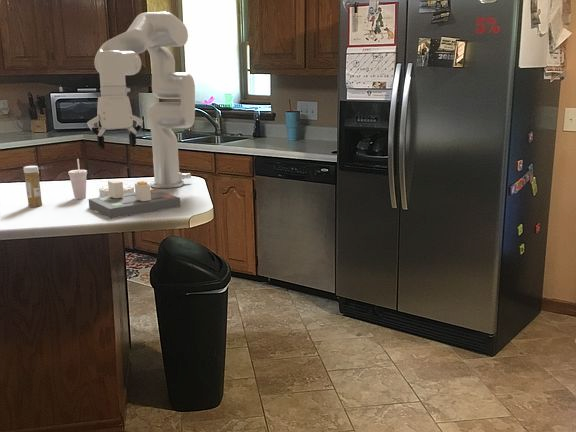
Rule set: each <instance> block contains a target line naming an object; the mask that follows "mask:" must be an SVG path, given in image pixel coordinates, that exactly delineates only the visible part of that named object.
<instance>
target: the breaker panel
mask: <svg viewBox="0 0 576 432" xmlns="http://www.w3.org/2000/svg"><path fill="white" fill-rule="evenodd" d="M150 192H151V200H148V201H140V200H138V199H136V194H135V191H134V192H133V193H126V194H124V197H121V198H113V197H111V196H106V197H100V196H99V197H94V198H88V207H89V209H91V210H93V211H94V212H96V213H99V214H101V215H102V216H105V217H107V218H108V219H114V218H121V217H122V218H123V217H126V216H132V215H138V214H144V213H151V212H156V211H162V210H167V209H169V210H170V209H174V208H180V207H181V197H179V196H176V195H173V194H170V193H168V192H164V191H162V190H159V189H157V188H155V189H154V188H153V189H150Z"/></svg>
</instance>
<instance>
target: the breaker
mask: <svg viewBox="0 0 576 432" xmlns="http://www.w3.org/2000/svg"><path fill="white" fill-rule="evenodd" d="M123 184H124V183H123V181H121V180H118V179H113V180H108V181H107V185H108V188H109V196H111V197H113V198H121V197H124V193H123Z"/></svg>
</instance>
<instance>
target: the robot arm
mask: <svg viewBox="0 0 576 432" xmlns="http://www.w3.org/2000/svg"><path fill="white" fill-rule="evenodd" d="M188 39H189V33H188V29H187V26H186V25H185V23H184V22H183V21H182V20H180V19H179V18H178V17H177V16H176V15H175V14H173V13H172V12H167V11H154V12H153V11H149V12H147V11H146V12H142V13H139V14H138V15H137V16H136V17H135V18H134V20H133V21H132V22H131V24H130V26H129V27H128V29H127V30H126V31H125V32H122V33H120V34H118V35H116V36H114V37H112V38H109V39H108V40H106V41H105V42H103V44H102V45H101V46H100V47H99V48H98V50H97V52H96V54H95V57H94V60H93V61H94V67H95V70H96V71H97V73H99V83H100V95H101V96H98V98H97V105H96V106H97V107H96V108H97V110H96V111H97V115H96V116H95V117H93V118H92V119H90V120H88V121H87V122H86V124H87V126H88V127H89V129H90V131H91V132H92V133H93V134H95V136H96V139H97V147H99V149H100V150H105V145H106V144H105V137H104V136H103V134H104V133H105V132H106V131H107V130H108V131H110V130H127V131H129V133H128V140H129V143H128V144H129V147H132V148H135V147H136V144H137V136H136V135H137V133H138V131H139V130H140V129H141V126H142V125H143V122H144V120H143V119H142V118H140V117H138V116H136V115H134V114H133V112H132V110H133V109H132V106H131V102H130V101H131V100H130V97H129V96H128V93H131V92H132V91H131V88H130V87H128V86H127V83H126V76H134V75H136V74H138V73H139V72H140V71H141V69H142V60H141V57H140V54H142V53H144V52H146V51H148V54H149V56H150V59H151V91H152V95H153V96H154V97H155V98H158V99H163V100H164V99H165V100H166V99H167V100H169V99H170V100H171V99H172V100H174V99H177V100H180V102H179V101H177V102H176V101H175V102H174V101H173V102H172V101H165V102H164V101H162V102H161V101H160V102H154V103H151V104H150V105H149V107H148V108H147V110H146V111H147V112H146V113H147V114H146V115H147V120H148V124H149V128H150V129H149V130H150V135H151V144H152V145H151V147H152V148H151V150H152V161H153V162H152V164H153V175H154V177H153V178H154V181H151V182H150V187H152V188H153V189H154V188H155V189H175V188H179V187H182V186H184V185H185V181H184V179H191V177H192V173H190V172H188V173H182V172H180V161H179V143H178V137H177V136H176V134H175V132H174V131H173V130H172V129H189V128H192V127H193V125H194V123H195V118H196V117H195V115H196V85H195V80H194V77H193V76H192V75H191V74H190V73H188V72H176V61H175V58H174V55H173V54H172V52H171V51H170V50H169V49H168V48H167V47H169V48H170V47H177V48H179V47H183V46H185V45H186V44H187V42H188ZM134 121H135V122H136V125H134ZM95 124H97V127H98V129H97V128H96V126H95Z"/></svg>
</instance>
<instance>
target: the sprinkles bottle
mask: <svg viewBox="0 0 576 432" xmlns="http://www.w3.org/2000/svg"><path fill="white" fill-rule="evenodd" d="M22 169H23V175H24V179H25V180H24V181H25V189H26V197H27V203H28V204H27V206H28V207H29V208H38V207H41V206H42V205H43V202H42V200H43V199H42V191H41V183H40V177H39V171H40V170H39V166H38V165H26V166H23V168H22Z"/></svg>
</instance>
